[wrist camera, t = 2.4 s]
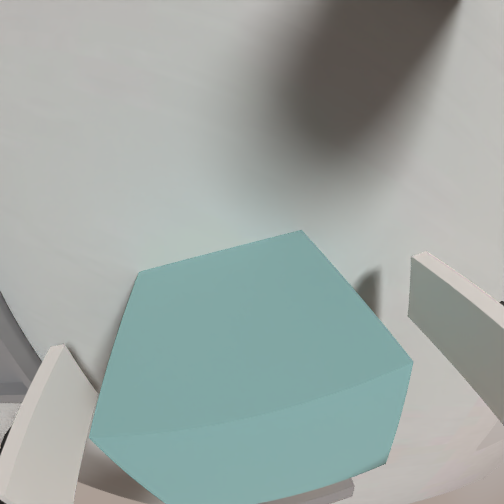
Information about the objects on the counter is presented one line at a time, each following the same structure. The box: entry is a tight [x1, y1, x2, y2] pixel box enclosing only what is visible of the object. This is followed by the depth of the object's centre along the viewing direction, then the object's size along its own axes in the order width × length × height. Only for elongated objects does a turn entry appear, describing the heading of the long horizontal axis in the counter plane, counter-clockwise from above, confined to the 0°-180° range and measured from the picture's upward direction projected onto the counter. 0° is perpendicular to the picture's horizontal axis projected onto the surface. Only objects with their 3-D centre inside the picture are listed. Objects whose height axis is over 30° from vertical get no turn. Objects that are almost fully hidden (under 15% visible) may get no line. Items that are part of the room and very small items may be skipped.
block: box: [89, 230, 413, 504], centre depth 9 cm, size 4×6×7 cm
